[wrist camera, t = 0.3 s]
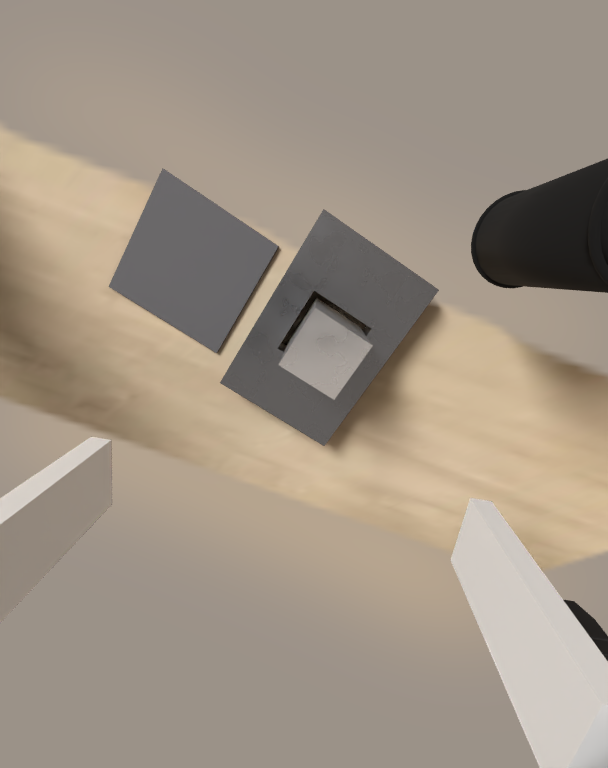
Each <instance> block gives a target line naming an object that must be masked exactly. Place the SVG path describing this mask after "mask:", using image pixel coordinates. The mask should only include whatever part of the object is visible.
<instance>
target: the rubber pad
mask: <svg viewBox="0 0 608 768" xmlns="http://www.w3.org/2000/svg"><path fill="white" fill-rule="evenodd" d="M278 247H279V246H277V245H276V244H274V243H273V242H271V241H270V240H268V239H267V238H265V237H264V236H263V235H261V234H260V233H258V232H257V231H255V230H254V229H252V228H251V227H249V226H248V225H246V224H245V223H243V222H242V221H240V220H239V219H237V218H236V217H234V216H233V215H231V214H230V213H228V212H227V211H225V210H224V209H222V208H221V207H219V206H218V205H216V204H215V203H214V202H212V201H211V200H209V199H208V198H206V197H205V196H203V195H202V194H200V193H199V192H197V191H196V190H194V189H193V188H191V187H190V186H188V185H187V184H185V183H184V182H182V181H181V180H179V179H178V178H176V177H175V176H173V175H172V174H170V173H169V172H167V171H166V170H165V169H162V171H161V173H160V175H159V178H158V180H157V182H156V184H155V186H154V188H153V191H152V193H151V195H150V197H149V199H148V202H147V204H146V206H145V208H144V210H143V213H142V215H141V217H140V219H139V221H138V223H137V226H136V228H135V230H134V232H133V234H132V237H131V239H130V241H129V243H128V245H127V248H126V250H125V252H124V254H123V256H122V259H121V261H120V263H119V265H118V267H117V270H116V272H115V274H114V276H113V278H112V280H111V283H110V285H109V287H110V288H112V289H113V290H115V291H117V292H118V293H120V294H122V295H123V296H125V297H126V298H128V299H130V300H131V301H133V302H135V303H136V304H138V305H139V306H141V307H143V308H144V309H146V310H147V311H149V312H151V313H152V314H154V315H156V316H157V317H159V318H160V319H162V320H164V321H165V322H167V323H169V324H170V325H172V326H173V327H175V328H177V329H178V330H180V331H182V332H183V333H185V334H186V335H188V336H190V337H191V338H193V339H195V340H196V341H198V342H199V343H201V344H203V345H204V346H206V347H208V348H209V349H211V350H212V351H214V352H216V353H217V352H218V351H219V349H220V347H221V345H222V344H223V342H224V340H225V339H226V337H227V335H228V333H229V332H230V330H231V328H232V326H233V325H234V323H235V321H236V320H237V318H238V316H239V314H240V313H241V311H242V309H243V307H244V306H245V304H246V302H247V301H248V299H249V297H250V295H251V294H252V292H253V290H254V288H255V287H256V285H257V283H258V282H259V280H260V278H261V276H262V275H263V273H264V271H265V269H266V268H267V266H268V264H269V263H270V261H271V259H272V257H273V256H274V254H275V252H276V250H277V249H278Z"/></svg>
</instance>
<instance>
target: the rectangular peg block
mask: <svg viewBox="0 0 608 768" xmlns="http://www.w3.org/2000/svg"><path fill="white" fill-rule="evenodd" d="M372 346H373V345H372V344H371V342H370V341H369V339H368V338H367V337H366V335H365V334H364V332H363V331H362V329H361V328H360V327H359V326H358V325H357V324H355V323H354V322H352V321H351V320H349V319H348V318H346V317H345V316H343V315H342V314H340V313H339V312H337V311H336V310H334V309H333V308H331V307H330V306H328V305H327V304H325V303H324V302H322V301H321V300H319V299H318V298H316V299H315V301H314V302H313V304H312V305H311V307H310V309H309V310H308V312H307V313H306V315H305V316H304V318H303V320H302V321H301V323H300V324H299V326H298V327H297V329H296V331H295V332H294V334H293V335H292V337H291V338H290V340H289V342H288V344H287V347H286V349H285V351H284V353H283V356H282V358H281V360H280V362H279V366H281V367H282V368H284V369H286V370H287V371H289V372H290V373H292V374H294V375H295V376H297V377H298V378H300V379H301V380H303V381H305V382H306V383H308V384H309V385H311V386H313V387H314V388H316V389H317V390H319V391H321V392H322V393H324V394H325V395H327V396H329V397H330V398H332V399H333V400H335V398H336V397H337V395H338V394H339V393H340V391H341V390H342V388H343V387H344V386H345V384H346V383H347V381H348V380H349V378H350V377H351V376H352V374H353V373H354V371H355V370H356V369H357V367H358V366H359V364H360V363H361V362H362V360H363V359H364V357H365V356H366V355H367V353H368V352H369V350H370V349H371V348H372Z"/></svg>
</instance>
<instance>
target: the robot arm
mask: <svg viewBox="0 0 608 768" xmlns="http://www.w3.org/2000/svg"><path fill="white" fill-rule="evenodd" d="M111 505H112V440H109V439H103V438H97V437H90V438H88V439H87V440H85V441H84V442H82V443H81V444H79V445H78V446H76V447H75V448H73V449H72V450H71V451H69V452H68V453H66V454H65V455H63V456H62V457H60V458H59V459H57V460H56V461H55V462H53V463H52V464H50V465H49V466H47V467H46V468H44V469H43V470H41V471H40V472H38V473H37V474H35V475H34V476H32V477H31V478H29V479H28V480H27V481H25V482H24V483H22V484H21V485H19V486H18V487H16V488H15V489H13V490H12V491H10V492H9V493H8V494H6V495H5V496H3V497H2V498H0V623H1V622H2V621H3V620H4V619H5V617H6V616H7V615H8V614H9V613H10V612H11V611H12V610H13V609H14V608H15V607H16V606H17V605H18V604H19V602H21V600H22V599H23V598H24V597H25V596H26V595H27V594H28V593H29V592H30V591H31V590H32V589H33V588H34V587H35V586H36V585H37V584H38V582H39V581H40V580H41V579H42V578H43V577H44V576H45V575H46V574H47V573H48V572H49V571H50V570H51V569H52V568H53V567H54V565H55V564H56V563H57V562H58V561H59V560H60V559H61V558H62V557H63V556H64V555H65V554H66V553H67V552H68V551H69V550H70V548H71V547H72V546H73V545H74V544H75V543H76V542H77V541H78V540H79V539H80V538H81V537H82V536H83V535H84V534H85V532H86V531H87V530H88V529H89V528H90V527H91V526H92V525H93V524H94V523H95V522H96V521H97V520H98V519H99V518H100V517H101V515H102V514H103V513H104V512H105V511H106V510H107V509H108V508H109V507H110V506H111ZM451 563H452V565H453V567H454V570H455V572H456V574H457V577H458V579H459V581H460V584H461V586H462V588H463V590H464V593H465V595H466V597H467V600H468V602H469V604H470V607H471V609H472V611H473V614H474V616H475V618H476V621H477V623H478V625H479V628H480V630H481V632H482V635H483V637H484V639H485V642H486V644H487V646H488V649H489V651H490V653H491V656H492V658H493V660H494V663H495V665H496V667H497V670H498V672H499V674H500V676H501V679H502V681H503V683H504V686H505V688H506V690H507V692H508V695H509V697H510V700H511V702H512V704H513V707H514V709H515V711H516V714H517V716H518V718H519V721H520V723H521V725H522V728H523V730H524V732H525V735H526V737H527V739H528V742H529V744H530V746H531V748H532V751H533V753H534V756H535V758H536V760H537V762H538V765H539V767H540V768H608V636H607V635H606V633H605V632H604V631H603V630H602V628H601V627H600V626H599V624H598V623H597V622H596V620H595V619H594V618H593V617H591V616H590V615H589V614H588V613H587V612H586V611H584V610H583V609H582V608H581V607H580V606H579V605H578V604H577V603H575V602H574V601H568V600H563V599H562V598H561V597H560V595H559V594H558V593H557V591H556V589H555V588H554V587H553V585H552V584H551V583H550V581H549V580H548V578H547V577H546V576H545V574H544V573H543V572H542V570H541V569H540V567H539V566H538V565H537V563H536V562H535V560H534V559H533V558H532V556H531V555H530V554H529V552H528V551H527V549H526V548H525V547H524V545H523V544H522V543H521V541H520V540H519V538H518V537H517V536H516V534H515V533H514V531H513V530H512V529H511V527H510V526H509V525H508V523H507V522H506V520H505V519H504V518H503V516H502V515H501V514H500V512H499V511H498V509H497V508H496V507H495V505H494V504H493V503H492V501H486V500H480V499H474V498H470V501H469V504H468V507H467V510H466V513H465V516H464V519H463V522H462V526H461V529H460V532H459V535H458V538H457V541H456V544H455V548H454V551H453V554H452V557H451Z"/></svg>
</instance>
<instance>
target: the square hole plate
mask: <svg viewBox="0 0 608 768" xmlns="http://www.w3.org/2000/svg"><path fill="white" fill-rule="evenodd" d="M313 291H316V292H317V293H319V294H320V295H322V296H323V297H325V298H326V299H328V300H329V301H331V302H332V303H334V304H335V305H337V306H338V307H340V308H341V309H343V310H344V311H346V312H347V313H349V314H350V315H352V316H353V317H355V318H356V319H358V320H359V321H361V322H362V323H364V324H365V325H367V326H366V327H365V329H364V330H363V332H364V334H365V335H366V337H367V338H368V339H369V341H370V342H371V344H372V345H373V346H372V348H371V349H370V350H369V352H368V353H367V355H366V356H365V357H364V359H363V360H362V362H361V363H360V364H359V366H358V367H357V369H356V370H355V371H354V373H353V374H352V376H351V377H350V378H349V380H348V381H347V383H346V384H345V386H344V387H343V388H342V390H341V391H340V393H339V394H338V395H337V397H336V398H335V400H333V399H332V398H330V397H329V396H327V395H325V394H324V393H322V392H321V391H319V390H317V389H316V388H314V387H313V386H311V385H309V384H308V383H306V382H305V381H303V380H301V379H300V378H298V377H297V376H295V375H294V374H292V373H290V372H289V371H287V370H286V369H284V368H282V367H281V366H279V362H280V360H281V358H282V356H283V353H284V351H285V349H286V347H287V346H286V345H284V344H283V343H281V342H282V341H283V339H284V337H285V336H286V334H287V333H288V331H289V329H290V328H291V326H292V325H293V323H294V322H295V320H296V318H297V317H298V315H299V314H300V312H301V310H302V309H303V307H304V306H305V304H306V303H307V301H308V299H309V298H310V296H311V295H312V293H313ZM438 291H439V290H438V289H437V288H435V287H434V286H433V285H431V284H430V283H428V282H427V281H425V280H424V279H422V278H421V277H420V276H418V275H417V274H415V273H414V272H413V271H411V270H410V269H408V268H407V267H405V266H404V265H403V264H401V263H400V262H398V261H397V260H395V259H394V258H392V257H391V256H390V255H388V254H387V253H385V252H384V251H383V250H381V249H380V248H378V247H377V246H375V245H374V244H373V243H371V242H370V241H368V240H367V239H365V238H364V237H363V236H361V235H360V234H358V233H357V232H355V231H354V230H353V229H351V228H350V227H348V226H347V225H345V224H344V223H343V222H341V221H340V220H338V219H337V218H336V217H334V216H332V215H331V214H330V213H328V212H327V211H326V210H323V211H322V213H321V215H320V216H319V218H318V220H317V221H316V223H315V225H314V226H313V228H312V230H311V231H310V233H309V235H308V237H307V238H306V240H305V241H304V243H303V245H302V246H301V248H300V250H299V251H298V253H297V255H296V256H295V258H294V260H293V261H292V263H291V265H290V266H289V268H288V270H287V271H286V273H285V275H284V276H283V278H282V280H281V281H280V283H279V285H278V287H277V288H276V290H275V292H274V293H273V295H272V297H271V298H270V300H269V302H268V303H267V305H266V307H265V308H264V310H263V312H262V313H261V315H260V317H259V318H258V320H257V322H256V323H255V325H254V327H253V328H252V330H251V332H250V333H249V335H248V337H247V338H246V340H245V342H244V343H243V345H242V347H241V348H240V350H239V352H238V353H237V355H236V357H235V358H234V360H233V362H232V363H231V365H230V367H229V368H228V370H227V372H226V374H225V375H224V377H223V379H222V380H221V382H220V383H221V384H223V385H224V386H226V387H228V388H229V389H231V390H233V391H234V392H236V393H238V394H239V395H241V396H243V397H244V398H246V399H247V400H249V401H251V402H252V403H254V404H256V405H257V406H259V407H261V408H262V409H264V410H266V411H267V412H269V413H271V414H272V415H274V416H276V417H277V418H279V419H281V420H282V421H284V422H285V423H287V424H289V425H290V426H292V427H294V428H295V429H297V430H299V431H300V432H302V433H304V434H305V435H307V436H309V437H310V438H312V439H314V440H315V441H317V442H318V443H320V444H322V445H323V446H325V444H326V443H327V442H328V440H329V439H330V438H331V436H332V435H333V433H334V432H335V431H336V429H337V428H338V427H339V425H340V424H341V423H342V421H343V420H344V418H345V417H346V416H347V414H348V413H349V412H350V410H351V409H352V408H353V406H354V405H355V404H356V402H357V401H358V399H359V398H360V397H361V395H362V394H363V393H364V391H365V390H366V389H367V387H368V386H369V384H370V383H371V382H372V380H373V379H374V378H375V376H376V375H377V374H378V372H379V371H380V370H381V368H382V367H383V365H384V364H385V363H386V361H387V360H388V359H389V357H390V356H391V355H392V353H393V352H394V350H395V349H396V348H397V346H398V345H399V344H400V342H401V341H402V340H403V338H404V337H405V336H406V334H407V333H408V331H409V330H410V329H411V327H412V326H413V325H414V323H415V322H416V321H417V319H418V318H419V316H420V315H421V314H422V312H423V311H424V310H425V308H426V307H427V306H428V304H429V303H430V302H431V300H432V299H433V297H434V296H435V295H436V293H437V292H438Z"/></svg>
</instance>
